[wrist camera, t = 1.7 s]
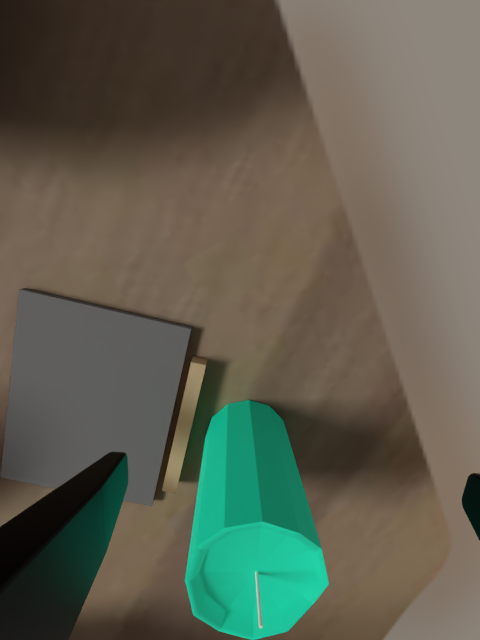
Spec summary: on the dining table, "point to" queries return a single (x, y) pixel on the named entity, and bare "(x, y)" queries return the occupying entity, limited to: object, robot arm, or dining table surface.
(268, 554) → the candle
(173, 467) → the strip
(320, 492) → the dining table surface
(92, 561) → the robot arm
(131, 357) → the mat
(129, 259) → the dining table surface
